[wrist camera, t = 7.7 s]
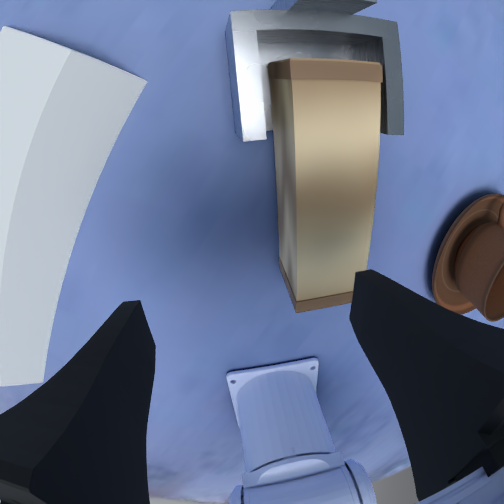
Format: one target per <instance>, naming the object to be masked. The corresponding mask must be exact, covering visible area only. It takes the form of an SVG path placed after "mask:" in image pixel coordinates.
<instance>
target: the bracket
mask: <svg viewBox="0 0 504 504" xmlns="http://www.w3.org/2000/svg"><path fill="white" fill-rule="evenodd" d="M375 3H377V0H276V2H275V3H274V5H273V6H272V7H271V9H270V10H243V11H230V15H229V19H228V23H227V27H226V31H225V37H226V47H227V56H228V66H229V76H230V86H231V96H232V105H233V115H234V125H235V133H236V134H237V135H238V136H239V137H240V138H241V139H242V141H243V142H244V141H254V140H264V139H266V131H270V130H273V119H272V104H271V90H270V78H269V75H268V64H269V62H273V61H278V60H283V59H289V58H321V59H343V60H357V61H368V62H378V63H380V65H382V73H383V82H381V112H380V133H384V134H387V135H404V101H403V79H402V64H401V52H400V42H399V33H398V25H397V22H394V21H389V20H383V19H378V18H372V17H366V16H359V15H352V14H354V13H356V12H358V11H360V10H363V9H365V8H367V7H369V6H371V5H373V4H375Z"/></svg>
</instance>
